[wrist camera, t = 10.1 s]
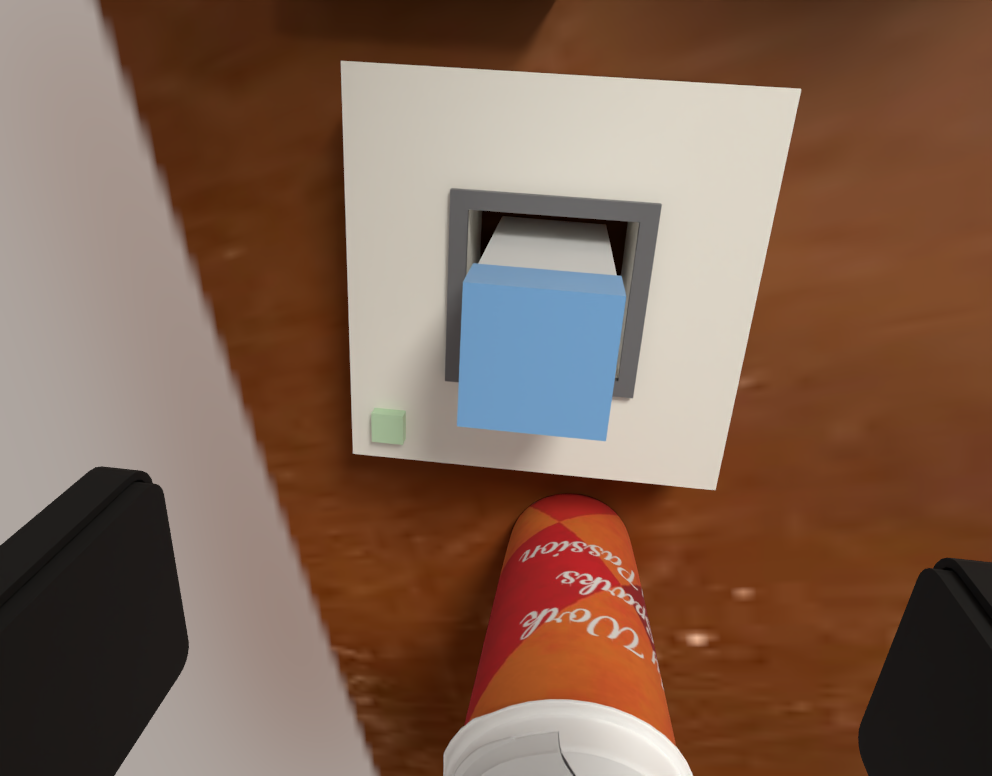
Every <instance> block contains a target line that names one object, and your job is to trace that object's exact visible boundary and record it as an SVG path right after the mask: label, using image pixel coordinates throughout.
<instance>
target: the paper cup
mask: <svg viewBox="0 0 992 776" xmlns="http://www.w3.org/2000/svg"><path fill="white" fill-rule="evenodd" d="M443 776H693V775H692V772H691V770H690V768H689V766H688V763H687V761H686V760H685V758H684V757H683V755H682V754H681V753H680V751H679V750H678V748H677V747H676V744H675V739H674V735H673V730H672V725H671V721H670V716H669V712H668V707H667V702H666V698H665V693H664V689H663V684H662V679H661V675H660V670H659V665H658V661H657V656H656V652H655V647H654V642H653V638H652V633H651V629H650V624H649V619H648V615H647V610H646V606H645V601H644V597H643V592H642V588H641V583H640V579H639V575H638V570H637V566H636V562H635V558H634V554H633V550H632V546H631V542H630V538H629V535H628V532H627V530H626V527H625V525H624V523H623V522H622V520H621V519H620V517H619V516H618V515H617V513H616V512H615V511H614V510H612V509H611V508H610V507H609V506H607V505H606V504H604V503H603V502H601V501H599V500H597V499H594V498H592V497H589V496H585V495H580V494H557V495H552V496H548V497H545V498H543V499H540V500H538V501H536V502H535V503H533V504H532V505H530V506H529V507H528V508H527V509H526V510H525V511H524V512H523V513H522V514H521V515H520V516H519V518H518V520H517V521H516V523H515V525H514V528H513V530H512V533H511V536H510V540H509V543H508V547H507V550H506V554H505V558H504V562H503V566H502V570H501V574H500V578H499V582H498V586H497V590H496V595H495V599H494V603H493V607H492V611H491V615H490V620H489V624H488V628H487V632H486V636H485V641H484V645H483V649H482V653H481V657H480V662H479V666H478V670H477V674H476V679H475V683H474V687H473V691H472V695H471V700H470V704H469V708H468V712H467V716H466V721H465V725H464V726H463V727H462V728H461V729H460V730H459V731H458V732H457V734H456V735H455V736H454V737H453V738H452V739H451V741H450V743H449V744H448V746H447V748H446V750H445V752H444V773H443Z"/></svg>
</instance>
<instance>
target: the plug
mask: <svg viewBox="0 0 992 776" xmlns="http://www.w3.org/2000/svg"><path fill="white" fill-rule="evenodd" d="M625 303H626V292H625V288H624V284H623V280H622V276H617V274H616V269H615V265H614V260H613V255H612V250H611V246H610V241H609V236H608V231H607V227H606V224H595V223H583V222H570V221H558V220H545V219H533V218H521V217H508V216H502V218H501V220H500V222H499V224H498V226H497V228H496V230H495V232H494V234H493V236H492V237H491V239H490V241H489V243H488V245H487V247H486V249H485V251H484V253H483V255H482V257H481V259H480V261H479V263H478V264H476V263H473V264H472V266H471V268H470V270H469V272H468V274H467V275H466V277H465V279H464V281H463V292H462V316H461V340H460V364H459V387H458V411H457V426H458V427H468V428H478V429H488V430H498V431H508V432H518V433H528V434H538V435H547V436H557V437H567V438H577V439H587V440H597V441H606V437H607V430H608V423H609V416H610V409H611V402H612V395H613V388H614V381H615V374H616V366H617V359H618V352H619V345H620V338H621V331H622V324H623V317H624V310H625Z"/></svg>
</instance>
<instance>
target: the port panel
mask: <svg viewBox="0 0 992 776" xmlns="http://www.w3.org/2000/svg"><path fill="white" fill-rule="evenodd" d="M341 87H342V119H343V151H344V183H345V215H346V247H347V279H348V311H349V343H350V375H351V407H352V439H353V454H361V455H371V456H380V457H390V458H400V459H410V460H420V461H430V462H440V463H450V464H460V465H470V466H480V467H490V468H500V469H510V470H520V471H529V472H539V473H549V474H559V475H569V476H579V477H589V478H599V479H609V480H619V481H629V482H639V483H649V484H659V485H669V486H679V487H688V488H698V489H708V490H716V485H717V481H718V476H719V471H720V467H721V462H722V457H723V453H724V448H725V443H726V439H727V434H728V429H729V425H730V420H731V415H732V411H733V406H734V401H735V397H736V392H737V387H738V383H739V378H740V373H741V369H742V364H743V359H744V355H745V350H746V345H747V341H748V336H749V331H750V327H751V322H752V317H753V313H754V308H755V303H756V299H757V294H758V289H759V285H760V280H761V275H762V271H763V266H764V261H765V257H766V252H767V247H768V243H769V238H770V233H771V229H772V224H773V219H774V215H775V210H776V205H777V201H778V196H779V191H780V187H781V182H782V177H783V173H784V168H785V163H786V159H787V154H788V149H789V145H790V140H791V135H792V131H793V126H794V121H795V117H796V112H797V107H798V103H799V98H800V93H801V89H795V88H779V87H763V86H746V85H730V84H713V83H697V82H681V81H664V80H648V79H631V78H615V77H598V76H582V75H566V74H549V73H533V72H516V71H500V70H483V69H467V68H451V67H434V66H418V65H401V64H385V63H368V62H352V61H341ZM482 211H495V212H508V213H521V214H535V215H548V216H561V217H575V218H588V219H601V220H615V221H628V225H627V232H626V240H625V247H624V255H623V263H622V270H621V276H622V280H623V284H624V288H625V292H626V303H625V310H624V317H623V324H622V331H621V338H620V345H619V352H618V359H617V366H616V374H615V381H614V388H613V395H612V402H611V409H610V416H609V423H608V430H607V437H606V441H597V440H587V439H577V438H567V437H557V436H547V435H538V434H528V433H518V432H508V431H498V430H488V429H478V428H468V427H458V426H457V411H458V387H459V364H460V340H461V316H462V292H463V281H464V279H465V277H466V275H467V274H468V272H469V270H470V268H471V266H472V264H473V263H476V264H478V263H479V261H480V250H481V228H482Z"/></svg>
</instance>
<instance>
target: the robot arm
mask: <svg viewBox="0 0 992 776" xmlns="http://www.w3.org/2000/svg"><path fill="white" fill-rule="evenodd" d="M188 648H189V642H188V635H187V629H186V624H185V617H184V612H183V605H182V599H181V593H180V587H179V581H178V575H177V569H176V563H175V557H174V551H173V546H172V540H171V533H170V528H169V522H168V516H167V510H166V504H165V498H164V493H163V490H162V488H161V487H160V486H159V485H157V484H153V483H152V479H151V478H150V476H149V475H148V474H147V473H145V472H143V471H138V470H129V469H120V468H110V467H95V468H94V469H92V470H90V471H89V472H88V473H86V474H85V475H84V476H83V477H82V478H80V480H78V481H77V482H76V483H74V484H73V485H72V486H71V487H70V488H69V489H67V490H66V491H65V492H64V493H63V494H61V495H60V496H59V497H58V498H57V499H55V500H54V501H53V502H52V503H51V504H49V505H48V506H47V507H46V508H45V509H43V510H42V511H41V512H40V513H39V514H38V515H36V516H35V517H34V518H33V519H32V520H30V521H29V522H28V523H27V524H26V525H24V526H23V527H22V528H21V529H20V530H18V531H17V532H16V533H15V534H14V535H12V536H11V537H10V538H9V539H8V540H7V541H5V542H4V543H3V544H2V545H0V776H114V775H115V774H116V772H117V770H118V769H119V767H120V766H121V764H122V763H123V761H124V760H125V758H126V757H127V755H128V754H129V752H130V750H131V749H132V747H133V746H134V744H135V743H136V741H137V740H138V738H139V736H140V735H141V734H142V732H143V730H144V729H145V727H146V726H147V724H148V723H149V721H150V720H151V718H152V717H153V715H154V713H155V712H156V710H157V709H158V707H159V706H160V704H161V703H162V701H163V700H164V698H165V696H166V695H167V693H168V692H169V690H170V689H171V687H172V686H173V684H174V683H175V681H176V680H177V678H178V676H179V675H180V673H181V671H182V670H183V667H184V665H185V662H186V659H187V655H188ZM858 740H859V749H860V754H861V758H862V761H863V763H864V766H865V768H866V770H867V773H868V775H869V776H992V562H983V561H973V560H964V559H955V558H944V559H941V560H940V561H939V562H937V563H936V564H935V566H934V568H933V569H932V568H928V569H924V570H923V571H922V572H921V573H920V575H919V577H918V579H917V581H916V584H915V586H914V589H913V591H912V594H911V597H910V599H909V602H908V604H907V607H906V609H905V612H904V614H903V617H902V619H901V622H900V625H899V627H898V630H897V632H896V635H895V637H894V640H893V642H892V645H891V648H890V650H889V653H888V655H887V658H886V660H885V663H884V665H883V668H882V671H881V673H880V676H879V678H878V681H877V683H876V686H875V688H874V691H873V694H872V696H871V699H870V701H869V704H868V706H867V709H866V711H865V714H864V716H863V719H862V722H861V724H860V728H859V736H858Z"/></svg>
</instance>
